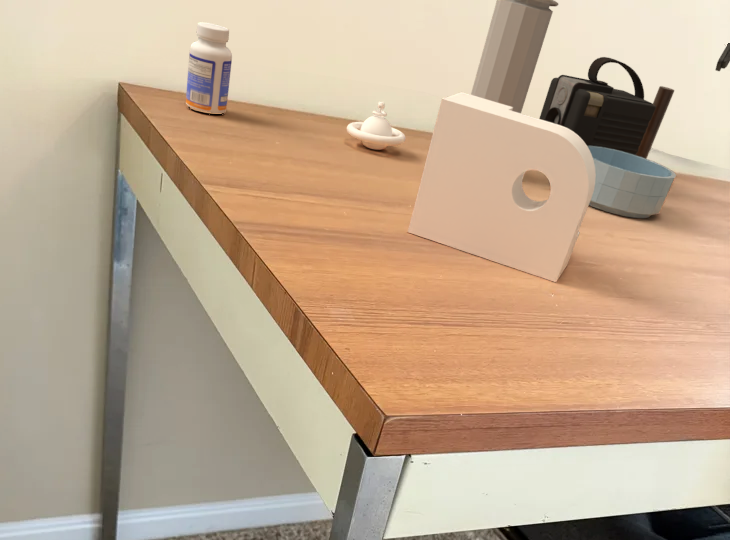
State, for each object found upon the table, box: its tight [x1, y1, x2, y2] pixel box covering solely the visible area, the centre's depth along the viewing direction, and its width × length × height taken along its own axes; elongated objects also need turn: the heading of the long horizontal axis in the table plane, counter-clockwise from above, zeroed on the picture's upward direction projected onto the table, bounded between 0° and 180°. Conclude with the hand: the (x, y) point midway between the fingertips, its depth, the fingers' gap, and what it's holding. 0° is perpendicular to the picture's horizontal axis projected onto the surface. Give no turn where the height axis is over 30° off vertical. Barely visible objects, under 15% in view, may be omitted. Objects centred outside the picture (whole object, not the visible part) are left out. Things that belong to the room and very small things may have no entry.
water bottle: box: [470, 0, 559, 114], centre depth 108 cm, size 9×8×25 cm
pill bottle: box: [185, 21, 233, 114], centre depth 106 cm, size 5×5×10 cm
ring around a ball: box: [346, 101, 406, 151], centre depth 110 cm, size 8×6×8 cm
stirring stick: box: [636, 85, 675, 159], centre depth 134 cm, size 4×4×12 cm
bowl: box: [588, 145, 677, 219], centre depth 112 cm, size 13×13×6 cm
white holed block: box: [407, 91, 596, 283], centre depth 84 cm, size 16×10×13 cm, turn 66°
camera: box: [538, 56, 656, 155], centre depth 122 cm, size 11×14×15 cm
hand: (693, 59), depth 136 cm, fingers open, 8 cm apart
